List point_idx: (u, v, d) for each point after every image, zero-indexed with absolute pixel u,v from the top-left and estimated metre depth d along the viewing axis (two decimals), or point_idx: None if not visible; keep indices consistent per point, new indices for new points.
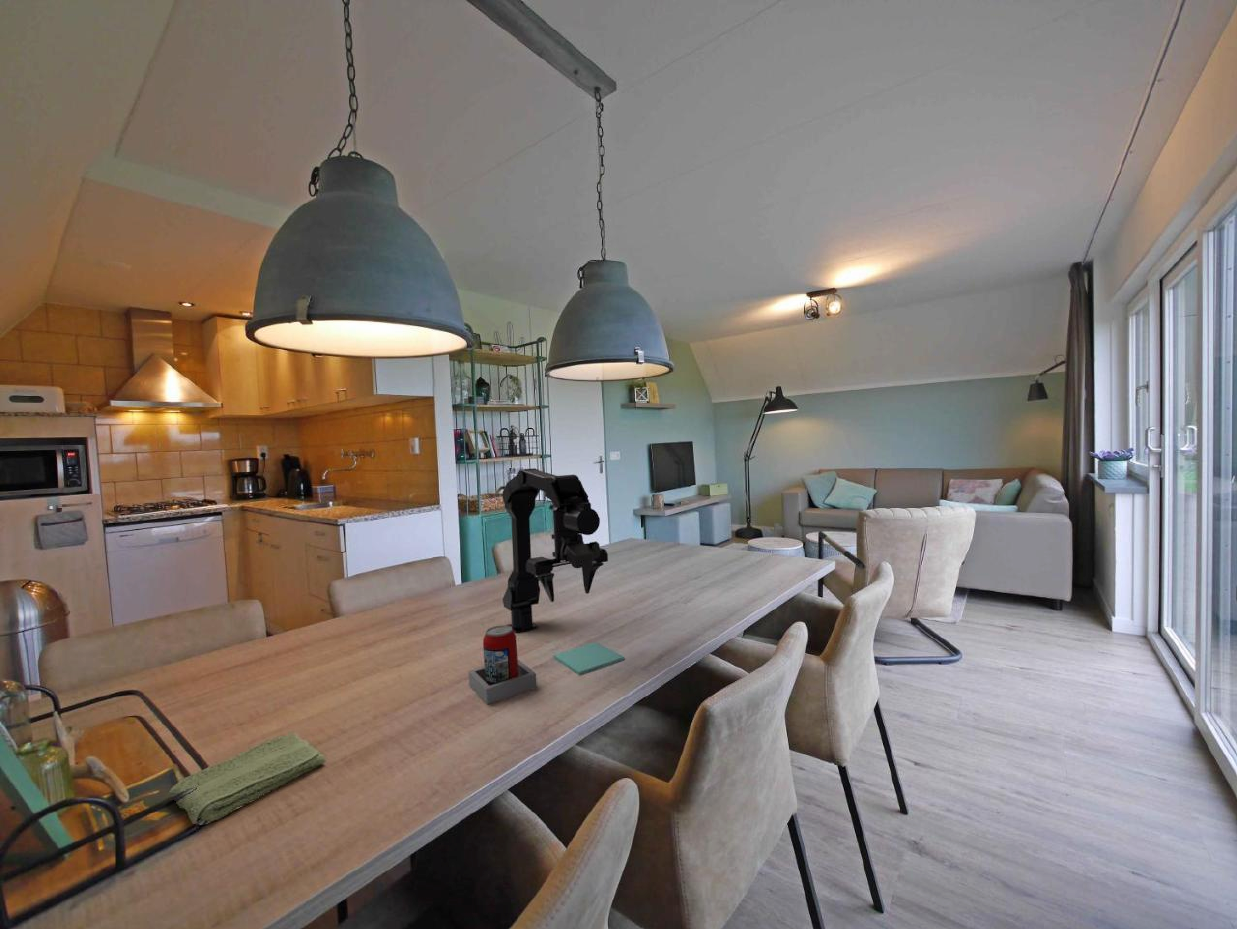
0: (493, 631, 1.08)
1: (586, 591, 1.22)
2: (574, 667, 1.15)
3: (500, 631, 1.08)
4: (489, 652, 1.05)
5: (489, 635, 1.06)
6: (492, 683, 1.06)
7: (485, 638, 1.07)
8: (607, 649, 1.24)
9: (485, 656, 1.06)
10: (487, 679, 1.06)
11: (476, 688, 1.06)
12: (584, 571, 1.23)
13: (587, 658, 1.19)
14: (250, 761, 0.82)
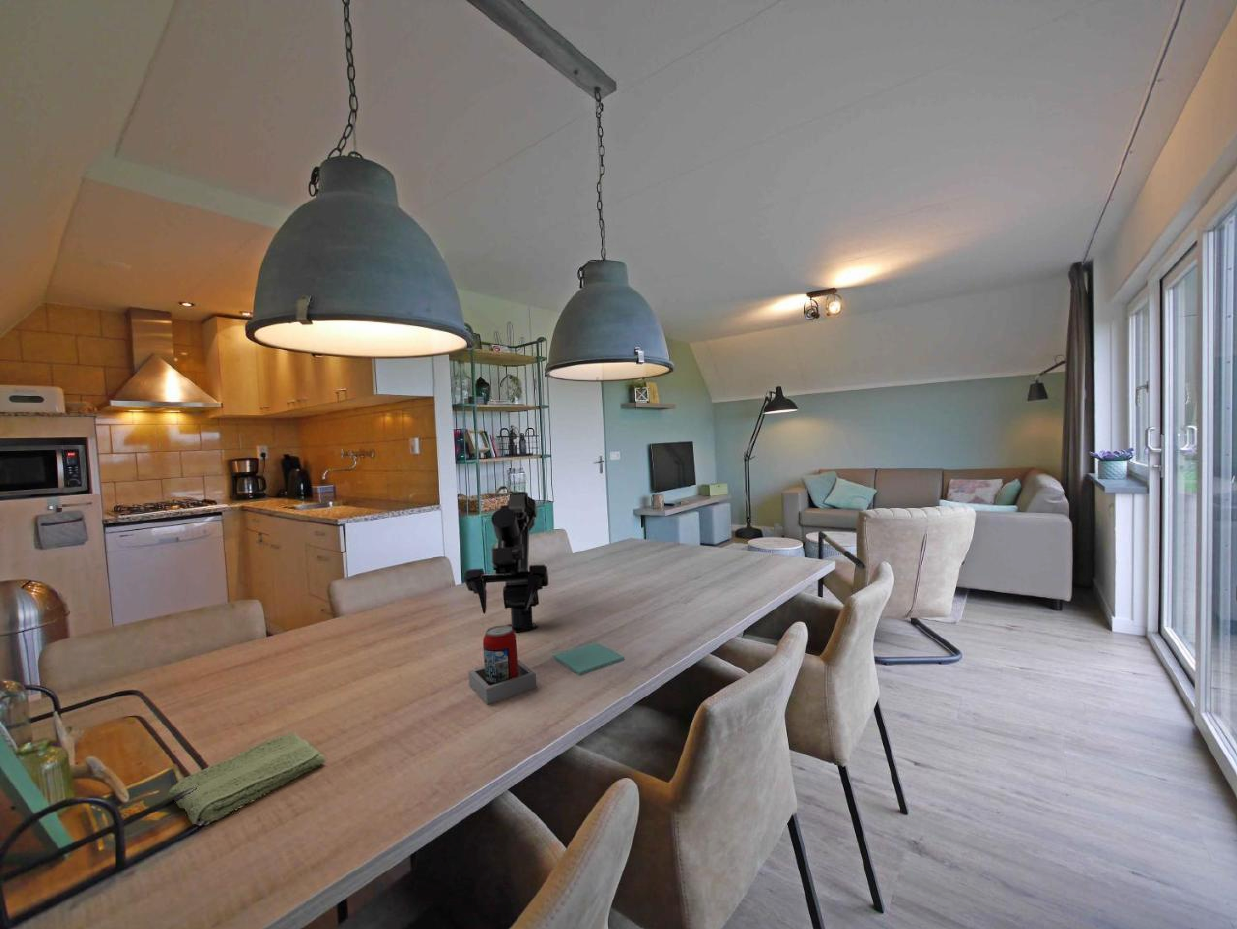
0: (493, 631, 1.08)
1: (524, 607, 1.17)
2: (574, 667, 1.15)
3: (500, 631, 1.08)
4: (489, 652, 1.05)
5: (489, 635, 1.06)
6: (492, 683, 1.06)
7: (485, 638, 1.07)
8: (607, 649, 1.24)
9: (485, 656, 1.06)
10: (487, 679, 1.06)
11: (476, 688, 1.06)
12: None
13: (587, 658, 1.19)
14: (250, 761, 0.82)
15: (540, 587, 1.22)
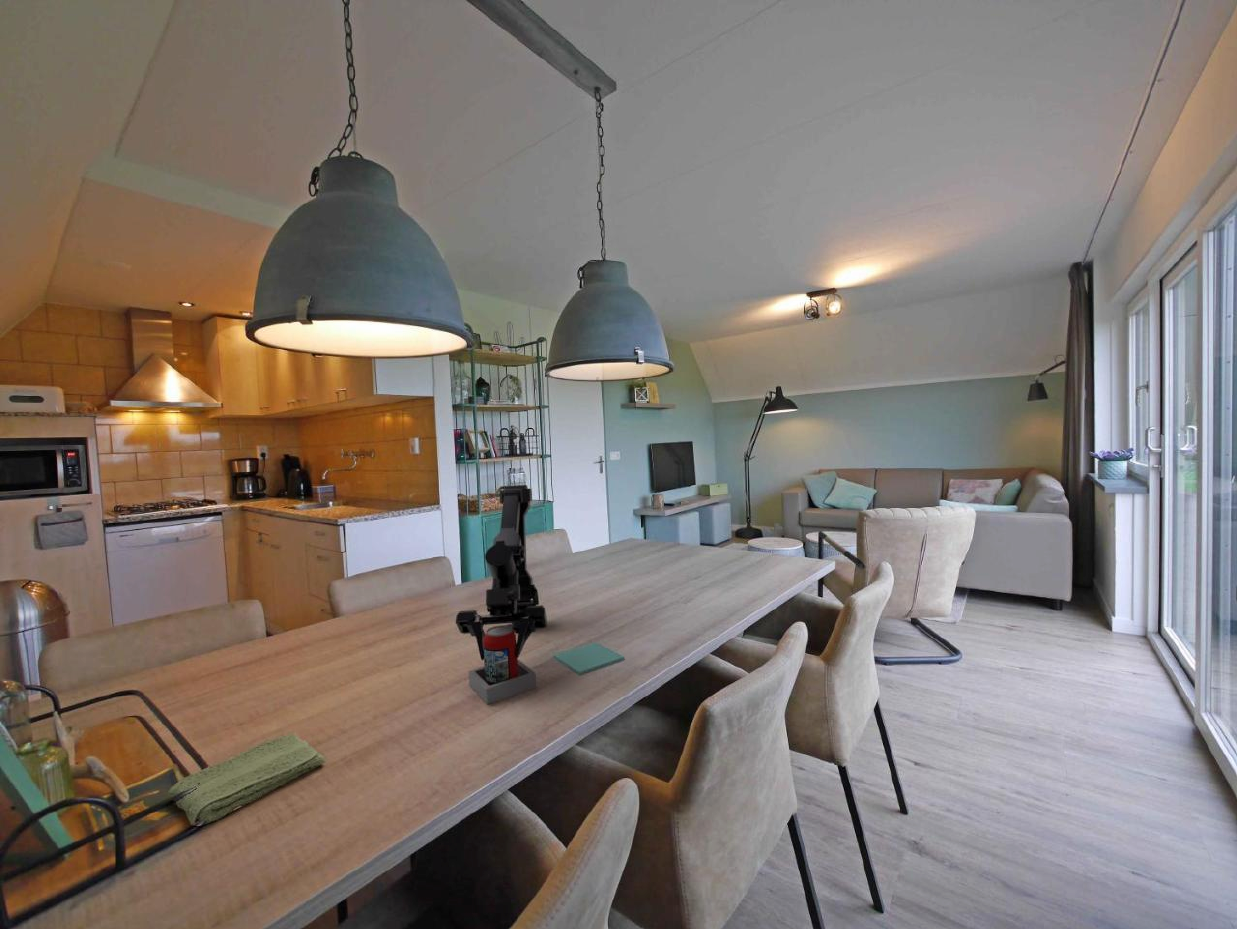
0: (493, 631, 1.08)
1: (516, 654, 1.08)
2: (574, 667, 1.15)
3: (500, 631, 1.08)
4: (489, 652, 1.05)
5: (489, 635, 1.06)
6: (492, 683, 1.06)
7: (485, 638, 1.07)
8: (607, 649, 1.24)
9: (485, 656, 1.06)
10: (487, 679, 1.06)
11: (476, 688, 1.06)
12: None
13: (587, 658, 1.19)
14: (250, 761, 0.82)
15: (533, 630, 1.13)
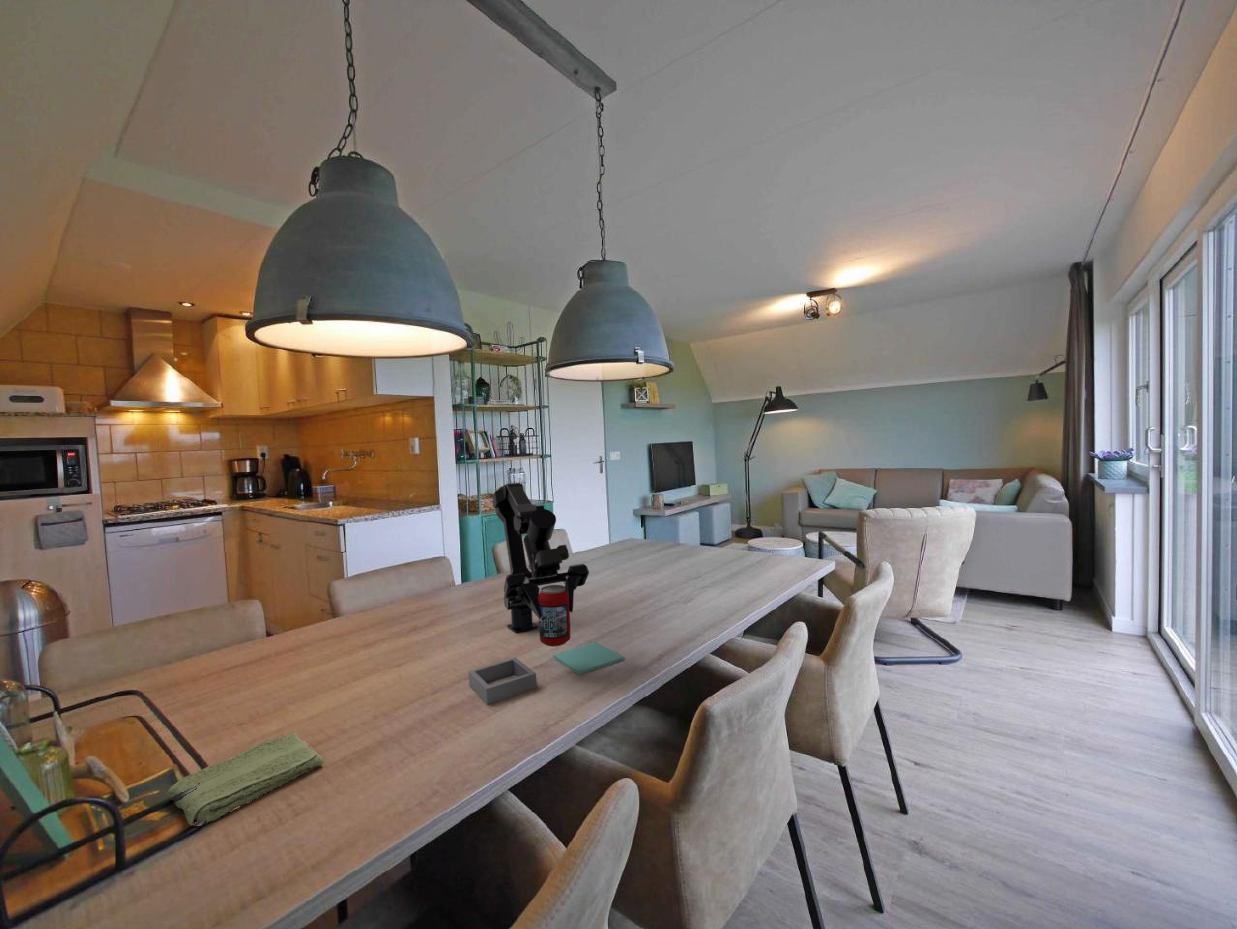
0: (547, 590, 1.13)
1: (570, 609, 1.14)
2: (574, 667, 1.15)
3: (554, 589, 1.13)
4: (550, 608, 1.10)
5: (548, 593, 1.11)
6: (552, 638, 1.11)
7: (543, 596, 1.11)
8: (607, 649, 1.24)
9: (544, 613, 1.11)
10: (546, 635, 1.11)
11: (476, 688, 1.06)
12: None
13: (587, 658, 1.19)
14: (249, 761, 0.82)
15: (574, 588, 1.21)
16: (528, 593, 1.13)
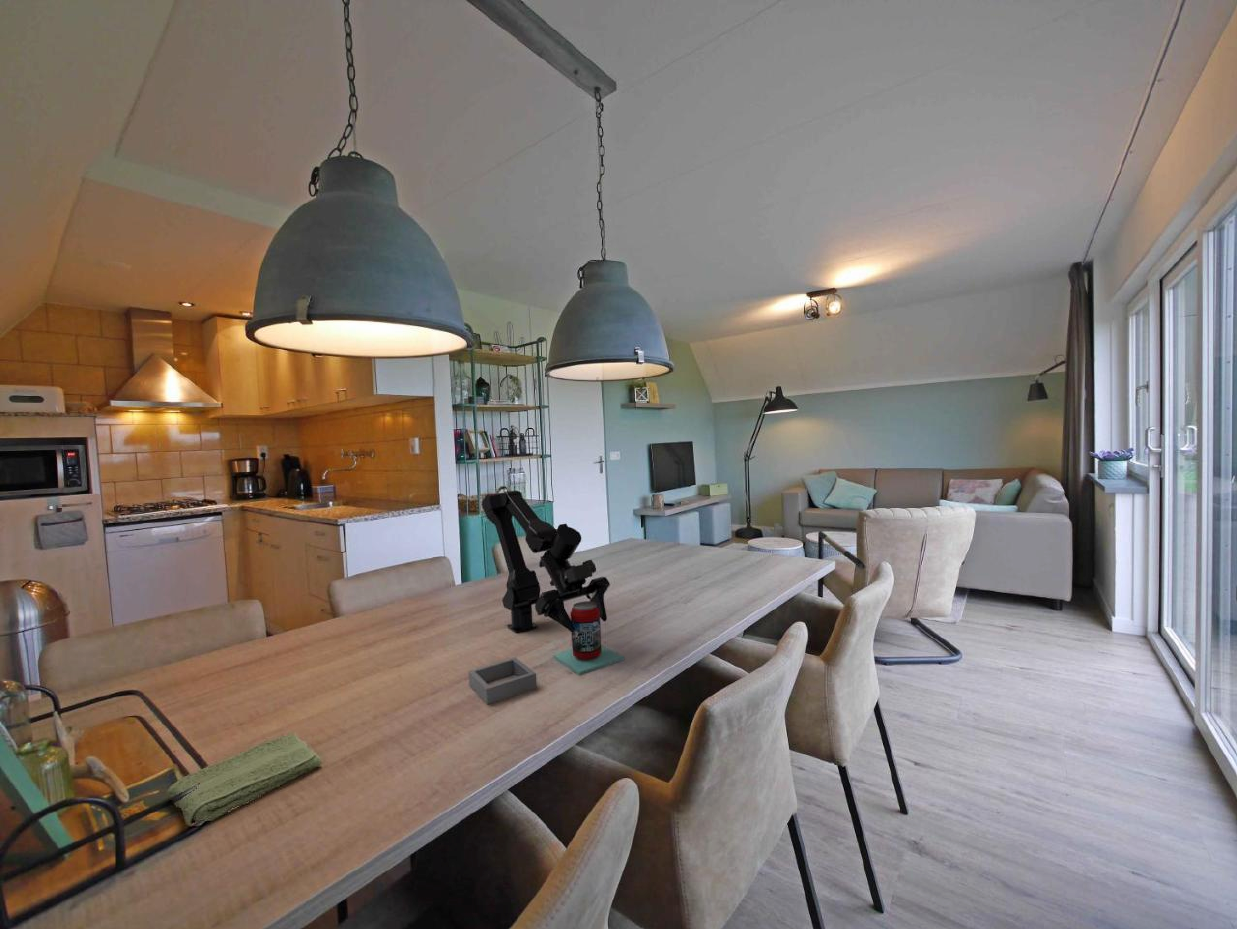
0: (580, 607, 1.19)
1: (604, 618, 1.22)
2: (574, 667, 1.15)
3: (586, 605, 1.20)
4: (587, 624, 1.17)
5: (584, 609, 1.18)
6: (589, 652, 1.17)
7: (579, 613, 1.17)
8: (607, 649, 1.24)
9: (581, 629, 1.17)
10: (583, 650, 1.17)
11: (476, 688, 1.06)
12: None
13: None
14: (248, 762, 0.82)
15: None
16: (559, 609, 1.17)
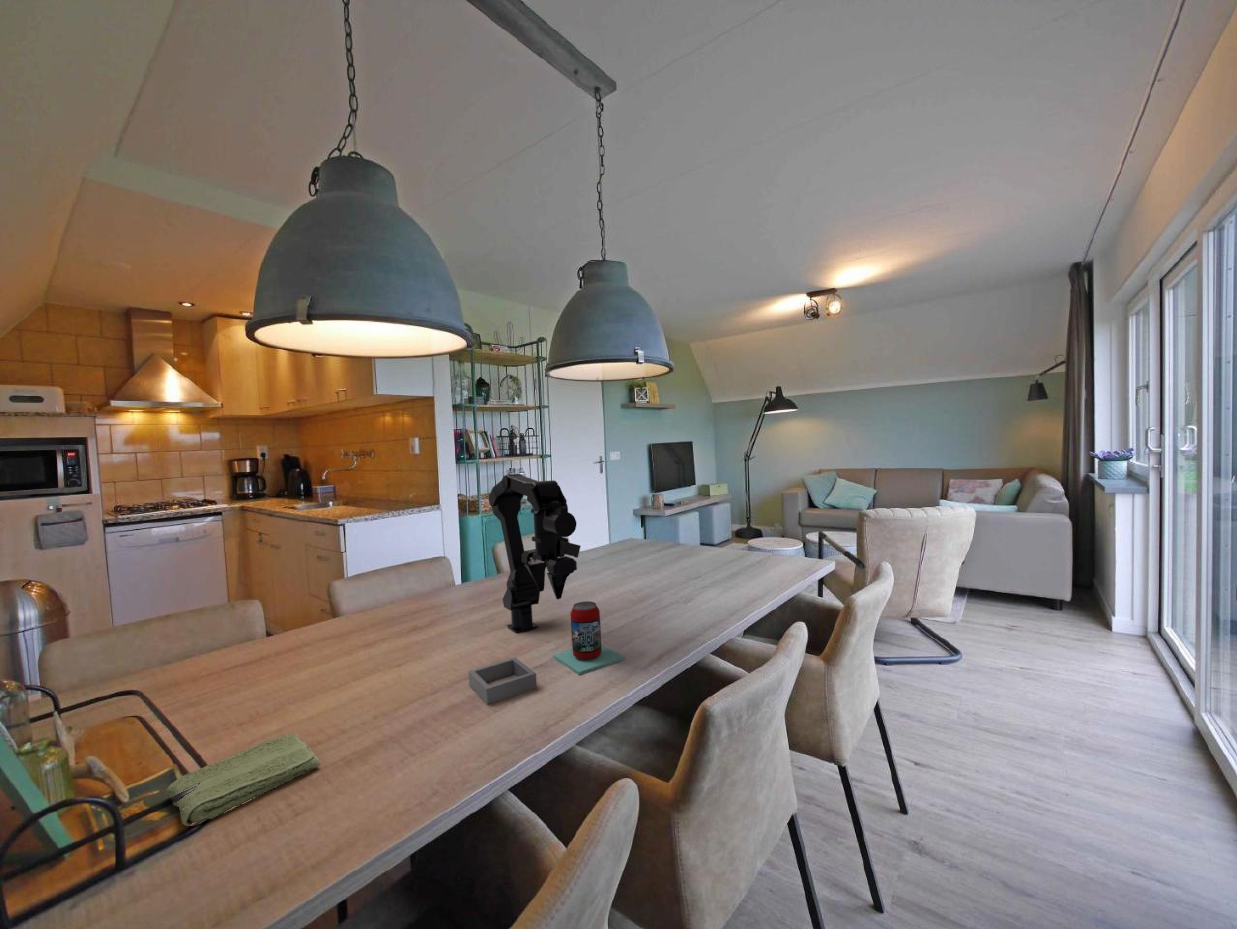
0: (580, 607, 1.19)
1: (542, 589, 1.32)
2: (574, 667, 1.15)
3: (586, 605, 1.20)
4: (587, 624, 1.17)
5: (584, 609, 1.18)
6: (589, 652, 1.17)
7: (579, 613, 1.17)
8: (607, 649, 1.24)
9: (581, 629, 1.17)
10: (583, 650, 1.17)
11: (476, 688, 1.06)
12: (535, 572, 1.31)
13: None
14: (247, 762, 0.82)
15: None
16: None
